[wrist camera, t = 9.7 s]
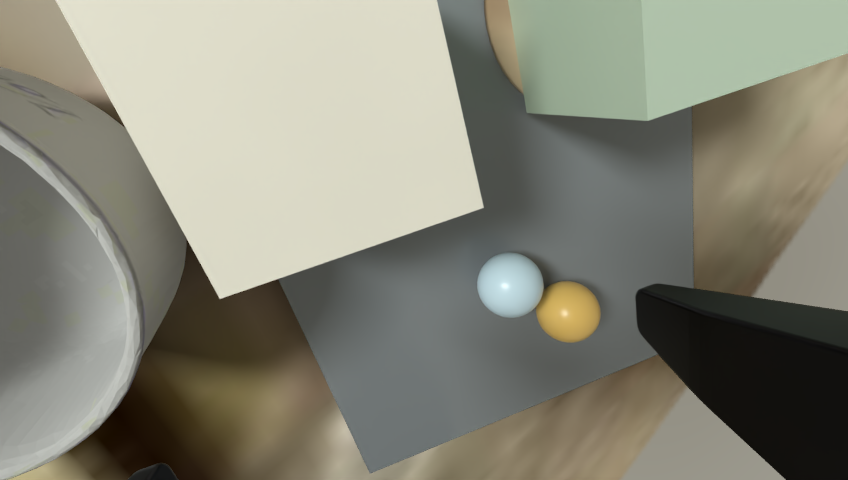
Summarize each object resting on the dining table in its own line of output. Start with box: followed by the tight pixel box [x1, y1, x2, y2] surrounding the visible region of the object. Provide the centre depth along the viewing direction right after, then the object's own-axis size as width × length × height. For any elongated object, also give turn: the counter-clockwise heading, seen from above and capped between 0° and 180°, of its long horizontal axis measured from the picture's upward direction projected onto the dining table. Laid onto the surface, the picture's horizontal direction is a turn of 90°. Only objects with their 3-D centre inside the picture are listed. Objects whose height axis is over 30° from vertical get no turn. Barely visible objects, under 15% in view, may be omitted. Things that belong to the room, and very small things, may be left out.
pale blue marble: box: [477, 252, 544, 318], centre depth 18 cm, size 3×3×3 cm
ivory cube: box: [56, 0, 484, 299], centre depth 12 cm, size 7×7×7 cm
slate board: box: [278, 0, 694, 473], centre depth 19 cm, size 26×21×1 cm
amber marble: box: [536, 281, 601, 343], centre depth 20 cm, size 3×3×3 cm
